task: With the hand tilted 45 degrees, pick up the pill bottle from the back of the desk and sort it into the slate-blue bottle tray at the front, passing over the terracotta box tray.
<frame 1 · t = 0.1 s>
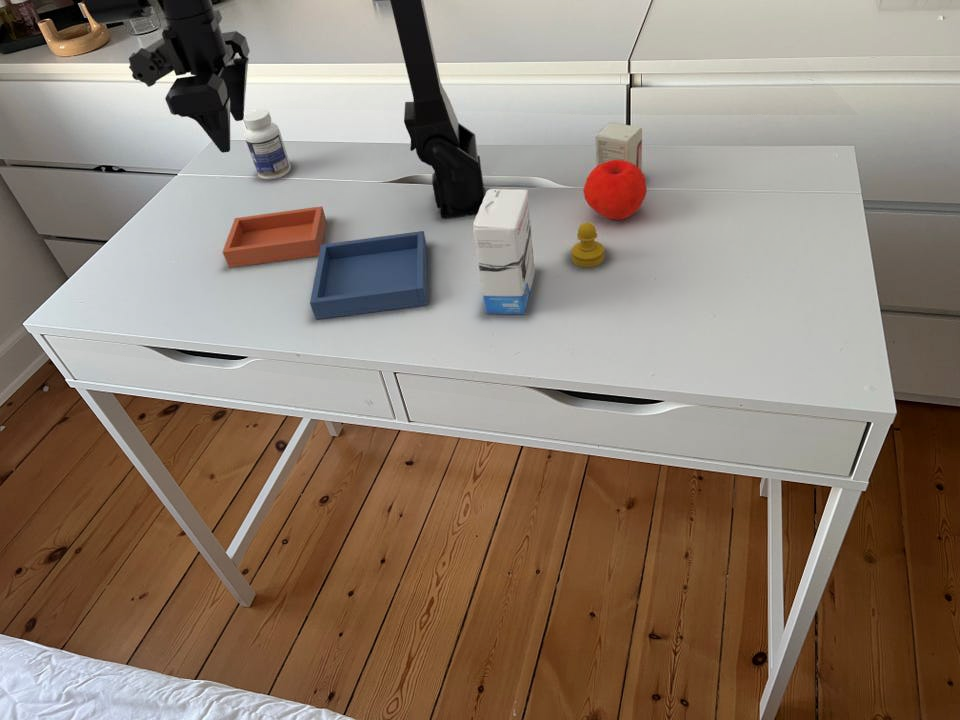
hand: (232, 135, 100), 15 cm above the table, tool pointing down, fingers open, 9 cm apart
small box: (619, 184, 108), on the table
pill bottle: (275, 173, 124), on the table
apple: (615, 216, 102), on the table
blue tray: (373, 281, 97), on the table
ink box: (511, 294, 92), on the table
terracotta tray: (279, 244, 107), on the table
chess piece: (588, 259, 96), on the table
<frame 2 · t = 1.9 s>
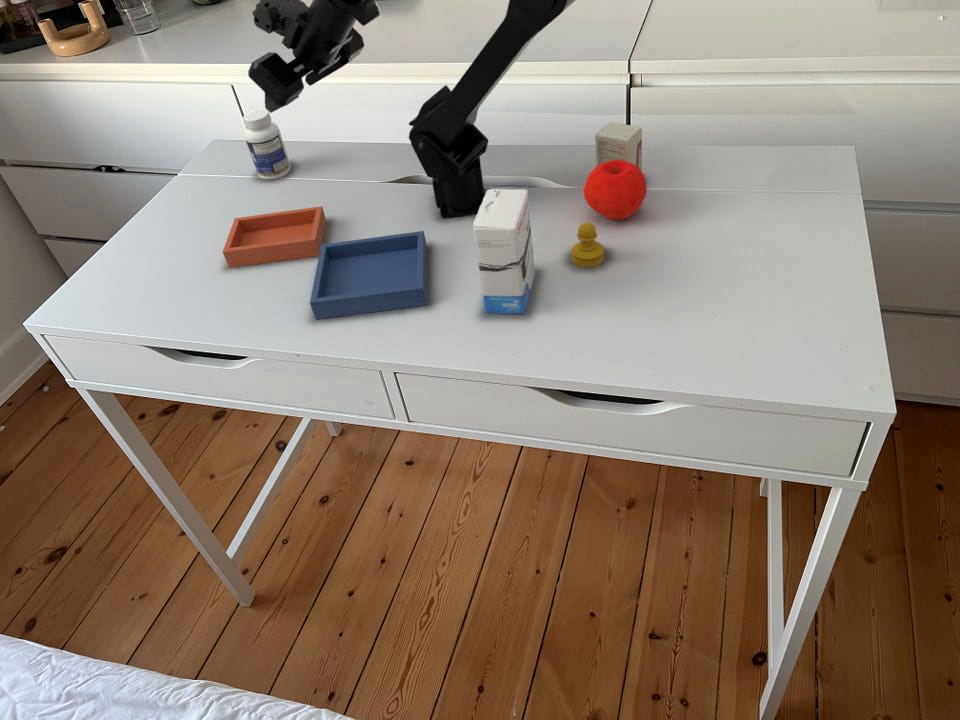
hand: (288, 96, 111), 13 cm above the table, tool tilted 45°, fingers open, 9 cm apart
nothing on the table moved.
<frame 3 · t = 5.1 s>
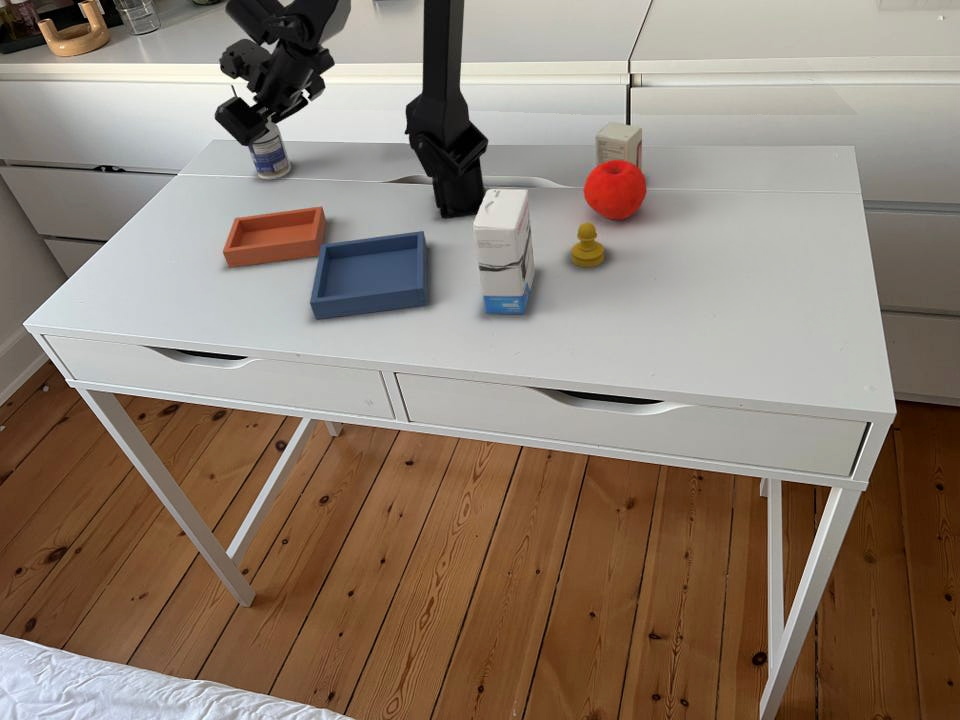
hand: (255, 132, 120), 7 cm above the table, tool tilted 45°, fingers closed on pill bottle, 5 cm apart
pill bottle: (275, 173, 124), on the table, touching gripper
everything else where it was.
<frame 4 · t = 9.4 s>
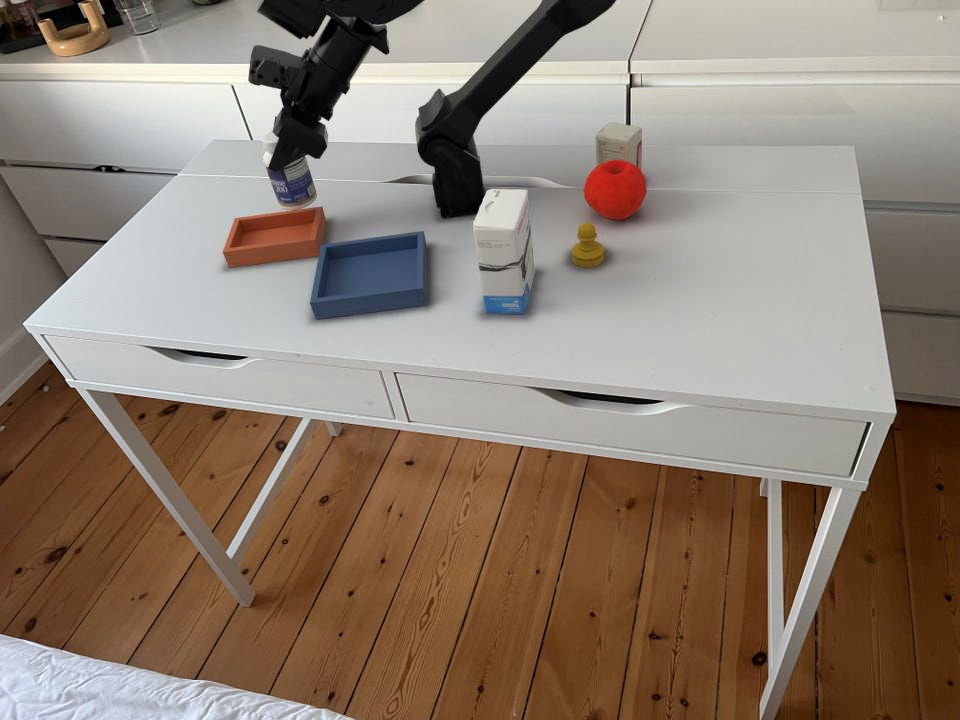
hand: (273, 159, 101), 11 cm above the table, tool tilted 45°, fingers closed on pill bottle, 5 cm apart
pill bottle: (299, 202, 106), point 5 cm above the table, touching gripper
everything else where it was.
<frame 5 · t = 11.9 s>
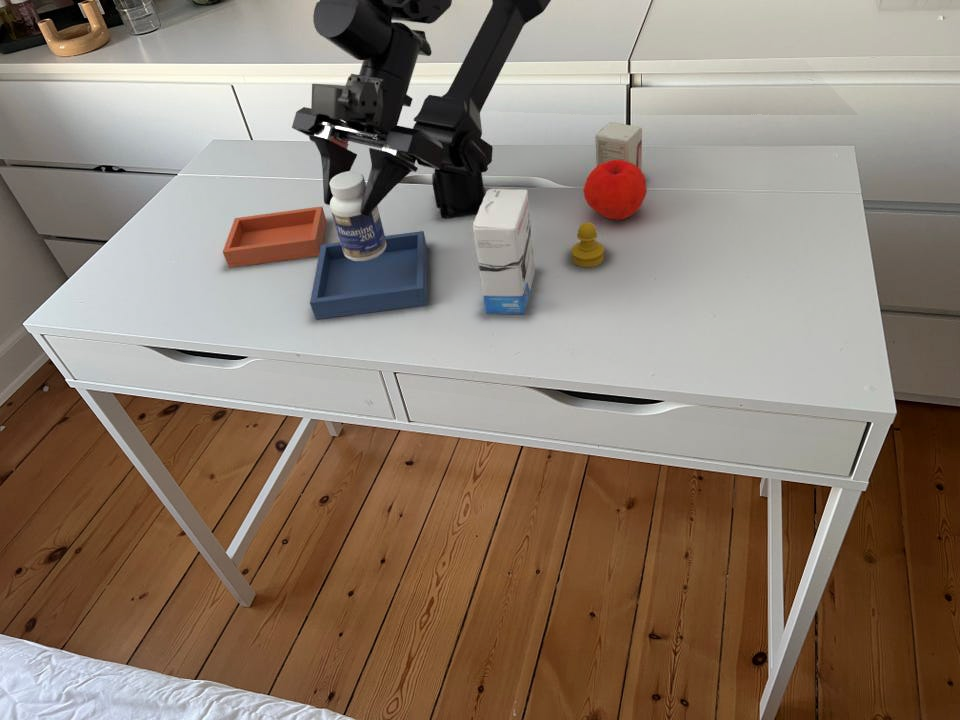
hand: (345, 209, 89), 11 cm above the table, tool tilted 45°, fingers closed on pill bottle, 5 cm apart
pill bottle: (366, 251, 95), point 5 cm above the table, touching gripper
everything else where it was.
when the fingers open (7 cm above the table, at t = 13.6 s): pill bottle stays where it is, resting on blue tray.
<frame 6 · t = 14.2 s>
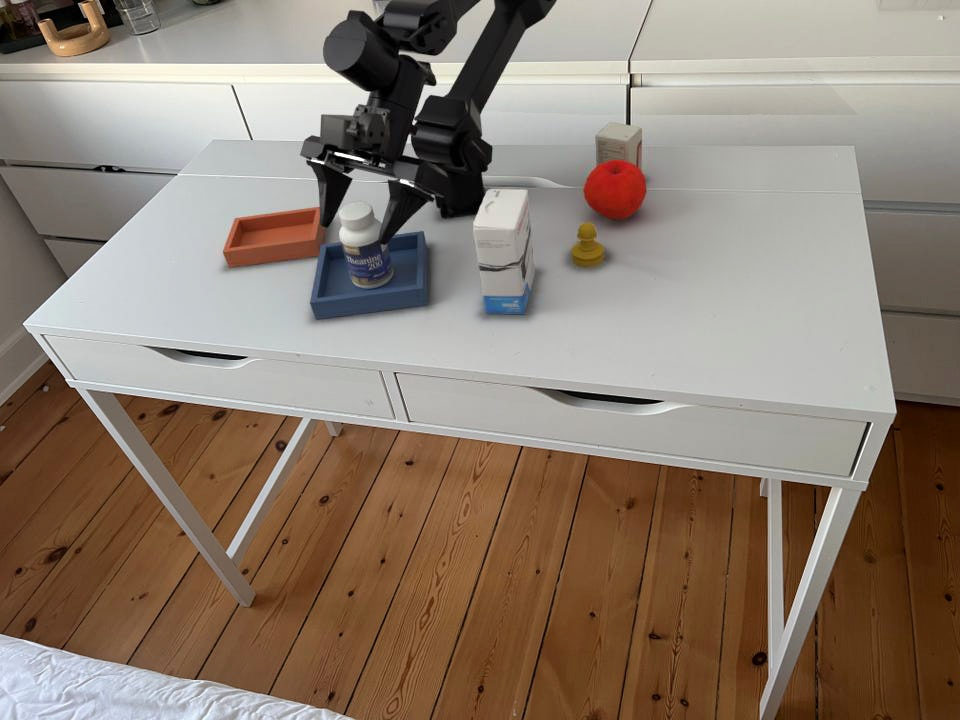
hand: (352, 235, 91), 8 cm above the table, tool tilted 45°, fingers open, 9 cm apart
pill bottle: (373, 278, 97), resting on blue tray
everything else where it was.
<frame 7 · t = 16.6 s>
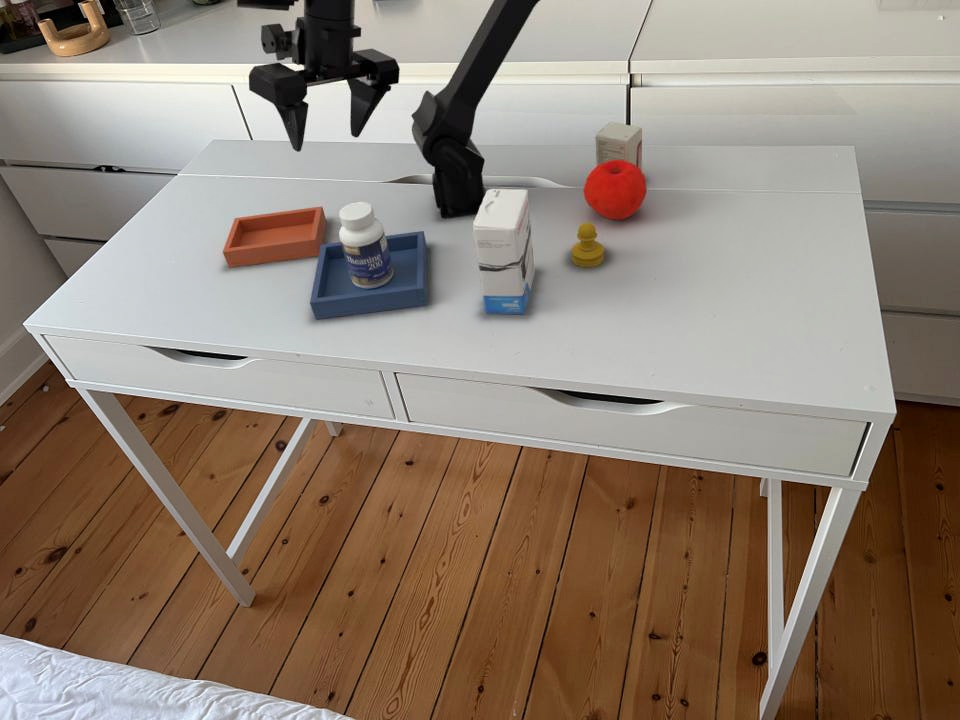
hand: (326, 143, 98), 14 cm above the table, tool tilted 15°, fingers open, 9 cm apart
nothing on the table moved.
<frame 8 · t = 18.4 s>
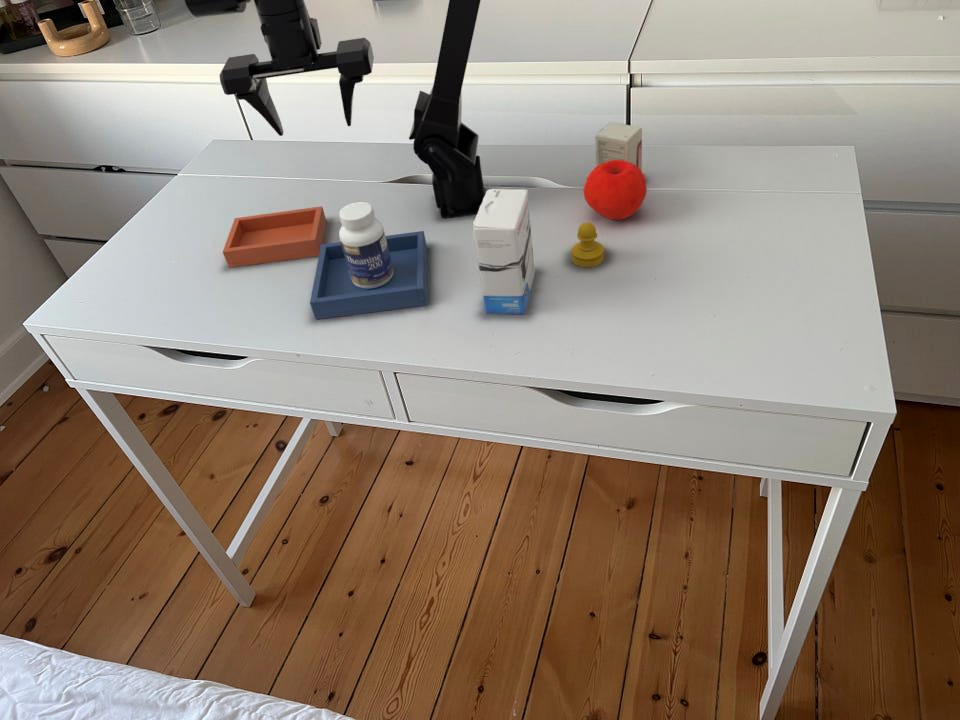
hand: (315, 129, 103), 13 cm above the table, tool pointing down, fingers open, 9 cm apart
nothing on the table moved.
at the end: pill bottle inside the target area in the blue tray (0.1 cm from its centre), point 0.4 cm above the blue tray's base; pill bottle tilted 0°; the gripper is holding nothing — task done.
